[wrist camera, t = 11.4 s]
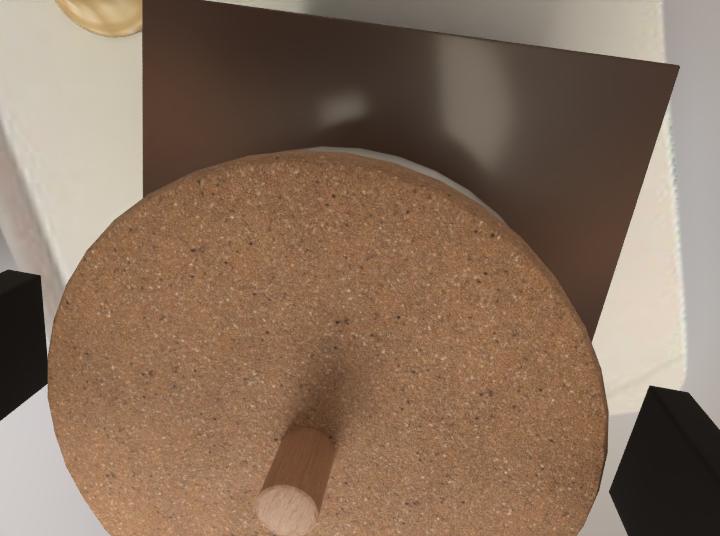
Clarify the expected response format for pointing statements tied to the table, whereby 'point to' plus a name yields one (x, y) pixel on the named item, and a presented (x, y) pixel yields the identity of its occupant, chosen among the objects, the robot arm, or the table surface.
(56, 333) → the trinket box
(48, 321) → the table surface
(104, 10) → the hand bell
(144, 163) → the bookshelf
